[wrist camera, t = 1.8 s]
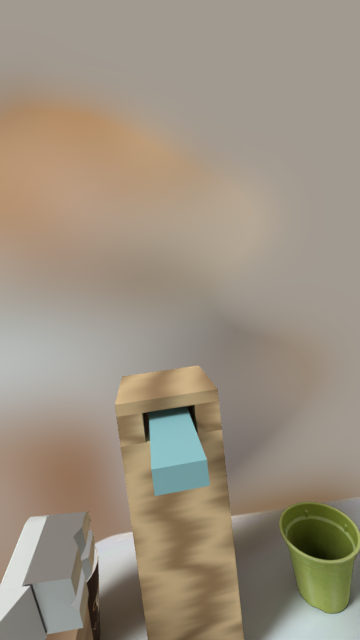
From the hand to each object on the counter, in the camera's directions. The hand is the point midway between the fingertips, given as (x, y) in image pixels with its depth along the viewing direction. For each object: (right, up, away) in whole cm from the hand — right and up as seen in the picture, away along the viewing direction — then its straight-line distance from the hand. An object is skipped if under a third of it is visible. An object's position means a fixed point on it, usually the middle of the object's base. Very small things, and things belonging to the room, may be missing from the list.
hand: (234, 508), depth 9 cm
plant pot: (+17, -30, +30) cm, 46 cm away
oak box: (0, -32, +28) cm, 42 cm away
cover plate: (-2, -6, +22) cm, 23 cm away
